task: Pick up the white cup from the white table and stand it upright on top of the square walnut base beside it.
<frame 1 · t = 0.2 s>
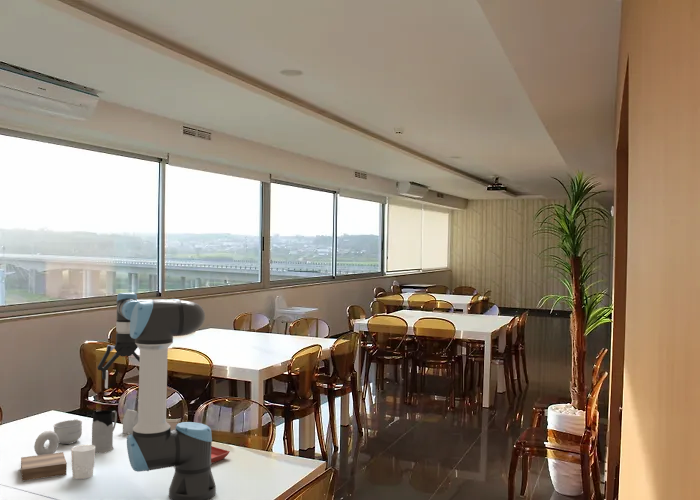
hand: (124, 386, 239), 28 cm above the table, tool pointing down, fingers open, 13 cm apart
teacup: (69, 441, 258), on the table
donut: (46, 457, 237), on the table
gray pitcher: (105, 448, 250), on the table
plant saucer: (197, 461, 237), on the table
white cup: (82, 476, 218), on the table
walnut base: (43, 471, 221), on the table
tea bag: (131, 433, 271), on the table
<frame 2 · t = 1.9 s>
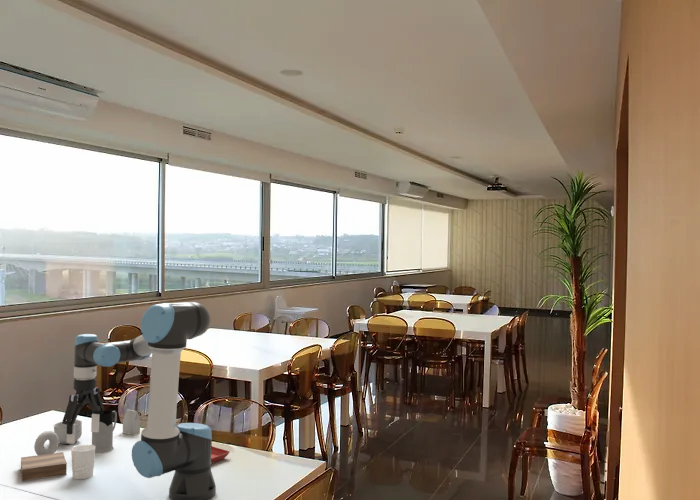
hand: (83, 437, 218), 14 cm above the table, tool pointing down, fingers open, 13 cm apart
nothing on the table moved.
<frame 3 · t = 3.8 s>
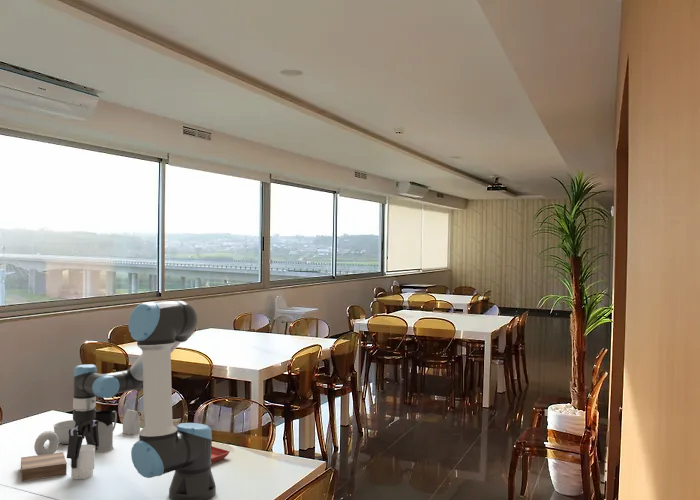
hand: (82, 472, 218), 1 cm above the table, tool pointing down, fingers closed on white cup, 8 cm apart
white cup: (82, 476, 218), on the table, touching gripper
everything else where it was.
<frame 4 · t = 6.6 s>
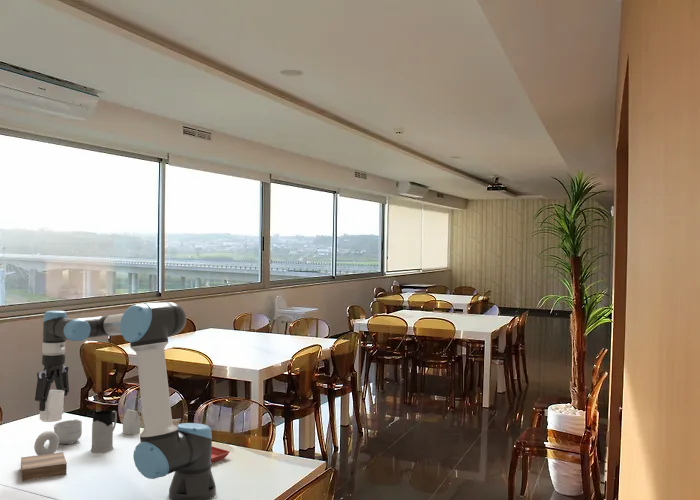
hand: (51, 416, 221), 20 cm above the table, tool pointing down, fingers closed on white cup, 8 cm apart
white cup: (51, 420, 221), point 19 cm above the table, touching gripper
everything else where it was.
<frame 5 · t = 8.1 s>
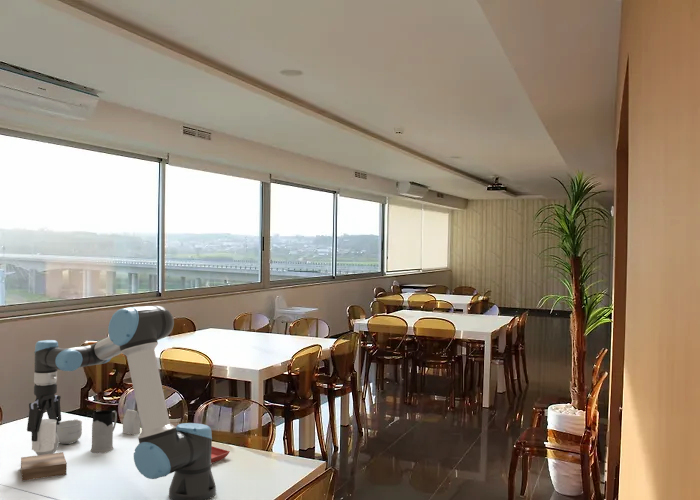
hand: (44, 446, 221), 9 cm above the table, tool pointing down, fingers closed on white cup, 8 cm apart
white cup: (43, 450, 221), point 8 cm above the table, touching gripper
everything else where it was.
when the fingers open (7 cm above the table, at t = 9.4 s): white cup drops 1 cm, resting on walnut base.
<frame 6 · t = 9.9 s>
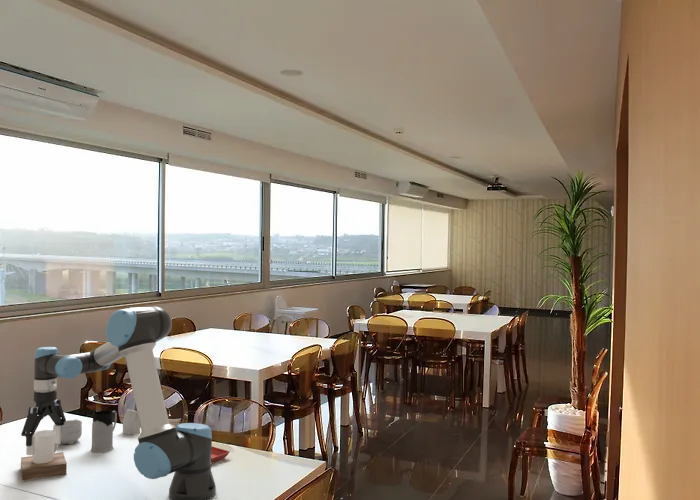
hand: (43, 448, 221), 8 cm above the table, tool pointing down, fingers open, 13 cm apart
white cup: (42, 461, 221), point 4 cm above the table, touching walnut base
everything else where it was.
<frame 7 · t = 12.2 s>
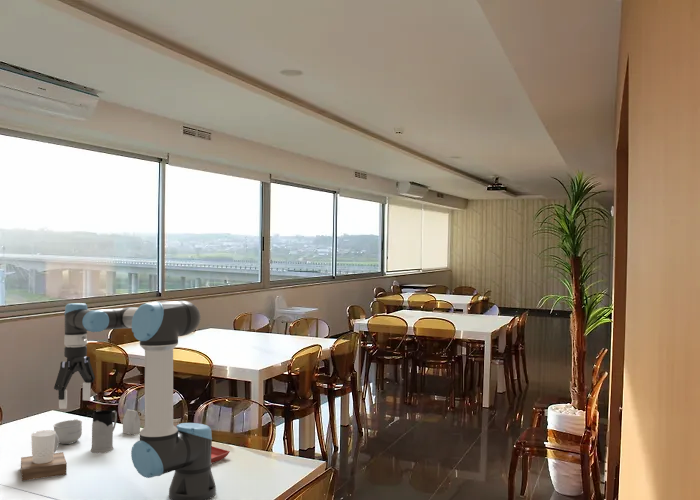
hand: (75, 404, 222), 24 cm above the table, tool pointing down, fingers open, 13 cm apart
nothing on the table moved.
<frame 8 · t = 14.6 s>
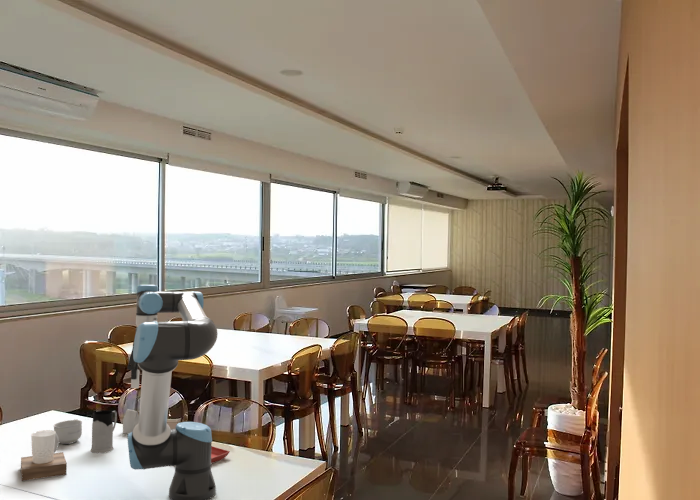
hand: (145, 384, 224), 32 cm above the table, tool pointing down, fingers open, 13 cm apart
nothing on the table moved.
at the end: white cup inside the target area on the walnut base (0.5 cm from its centre), point 3.8 cm above the walnut base's base; white cup tilted 0°; the gripper is holding nothing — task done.
